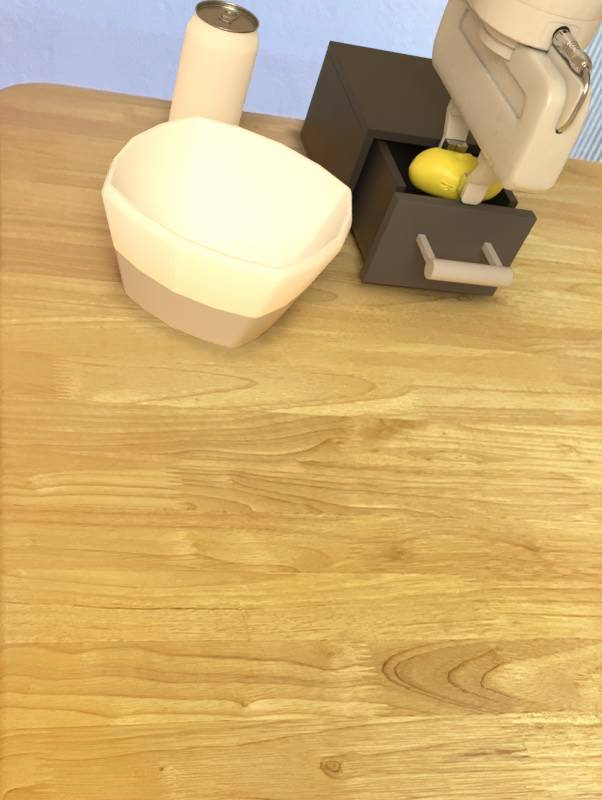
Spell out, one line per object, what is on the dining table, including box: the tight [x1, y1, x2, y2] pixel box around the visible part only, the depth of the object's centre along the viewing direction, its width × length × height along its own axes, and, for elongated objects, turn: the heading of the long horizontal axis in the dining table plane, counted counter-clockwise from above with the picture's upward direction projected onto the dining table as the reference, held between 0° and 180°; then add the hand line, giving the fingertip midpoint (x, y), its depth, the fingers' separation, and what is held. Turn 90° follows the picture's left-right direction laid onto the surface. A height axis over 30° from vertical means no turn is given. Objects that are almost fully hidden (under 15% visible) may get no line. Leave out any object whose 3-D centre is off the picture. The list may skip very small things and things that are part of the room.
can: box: [167, 0, 260, 127], centre depth 80 cm, size 6×6×12 cm
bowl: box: [100, 116, 352, 349], centre depth 67 cm, size 18×18×9 cm
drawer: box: [351, 138, 538, 297], centre depth 76 cm, size 20×12×8 cm, turn 7°
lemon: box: [409, 147, 503, 201], centre depth 72 cm, size 4×8×4 cm, turn 82°
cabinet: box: [299, 40, 481, 230], centre depth 83 cm, size 16×14×10 cm
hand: (456, 179), depth 73 cm, fingers closed on lemon, 4 cm apart
